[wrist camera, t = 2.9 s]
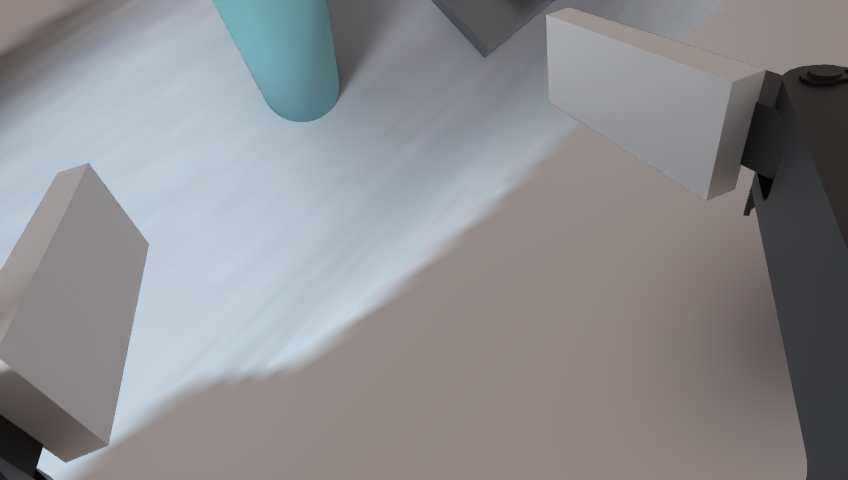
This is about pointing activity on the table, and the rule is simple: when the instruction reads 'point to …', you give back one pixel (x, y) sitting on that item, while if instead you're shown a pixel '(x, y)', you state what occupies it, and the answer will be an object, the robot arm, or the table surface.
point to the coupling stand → (490, 19)
